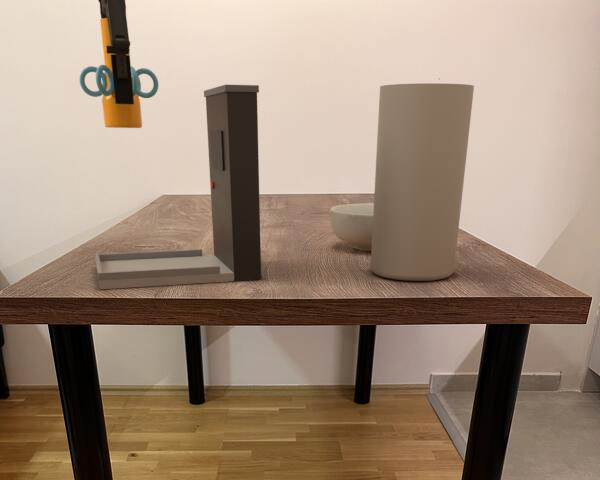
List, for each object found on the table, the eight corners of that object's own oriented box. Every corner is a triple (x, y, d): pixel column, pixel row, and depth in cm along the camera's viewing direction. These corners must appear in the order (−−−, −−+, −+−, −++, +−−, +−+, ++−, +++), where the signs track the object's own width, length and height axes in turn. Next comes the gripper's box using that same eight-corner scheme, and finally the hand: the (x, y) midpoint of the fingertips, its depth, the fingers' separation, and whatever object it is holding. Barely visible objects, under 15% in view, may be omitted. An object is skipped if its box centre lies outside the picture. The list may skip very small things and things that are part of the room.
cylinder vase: (356, 268, 100) (364, 87, 89) (425, 263, 104) (441, 90, 93) (395, 284, 89) (409, 82, 79) (470, 278, 94) (493, 85, 83)
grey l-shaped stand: (100, 289, 86) (72, 80, 75) (96, 268, 99) (72, 88, 89) (262, 279, 92) (258, 85, 82) (239, 260, 106) (232, 91, 95)
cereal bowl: (311, 246, 119) (311, 206, 116) (376, 238, 128) (378, 201, 125) (372, 259, 107) (374, 215, 104) (439, 250, 116) (443, 209, 113)
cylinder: (131, 127, 98) (121, 12, 92) (74, 126, 101) (60, 15, 95) (170, 128, 109) (163, 25, 102) (117, 128, 111) (107, 27, 105)
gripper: (139, -81, 85) (153, 103, 94) (125, -40, 105) (138, 108, 115) (80, -87, 83) (101, 101, 92) (78, -44, 103) (95, 107, 113)
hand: (122, 105), depth 103 cm, fingers closed on cylinder, 11 cm apart
